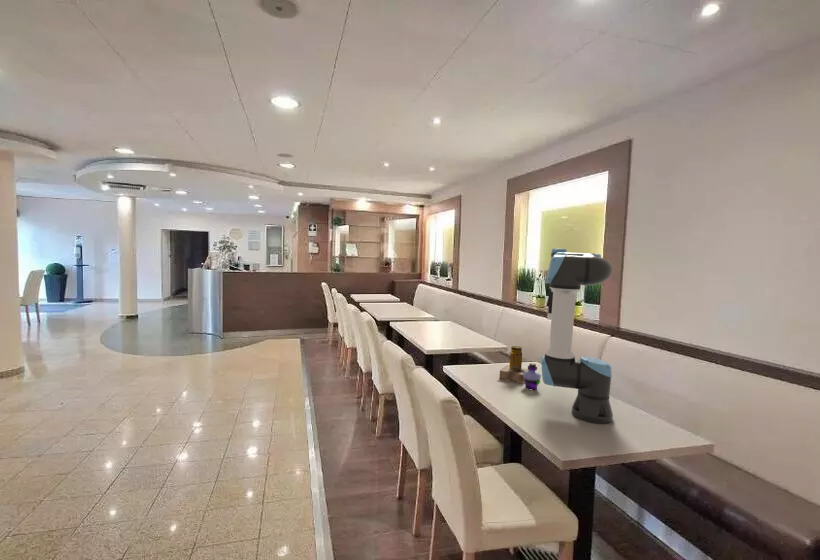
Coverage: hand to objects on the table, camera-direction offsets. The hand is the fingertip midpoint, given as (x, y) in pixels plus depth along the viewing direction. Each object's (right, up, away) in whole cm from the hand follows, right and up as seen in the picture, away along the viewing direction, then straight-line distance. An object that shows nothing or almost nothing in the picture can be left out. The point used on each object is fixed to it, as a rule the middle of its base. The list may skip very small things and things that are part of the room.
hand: (554, 318), depth 207 cm
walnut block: (-22, -32, -3) cm, 39 cm away
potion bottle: (-18, -33, -17) cm, 41 cm away
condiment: (-21, -27, -3) cm, 34 cm away
